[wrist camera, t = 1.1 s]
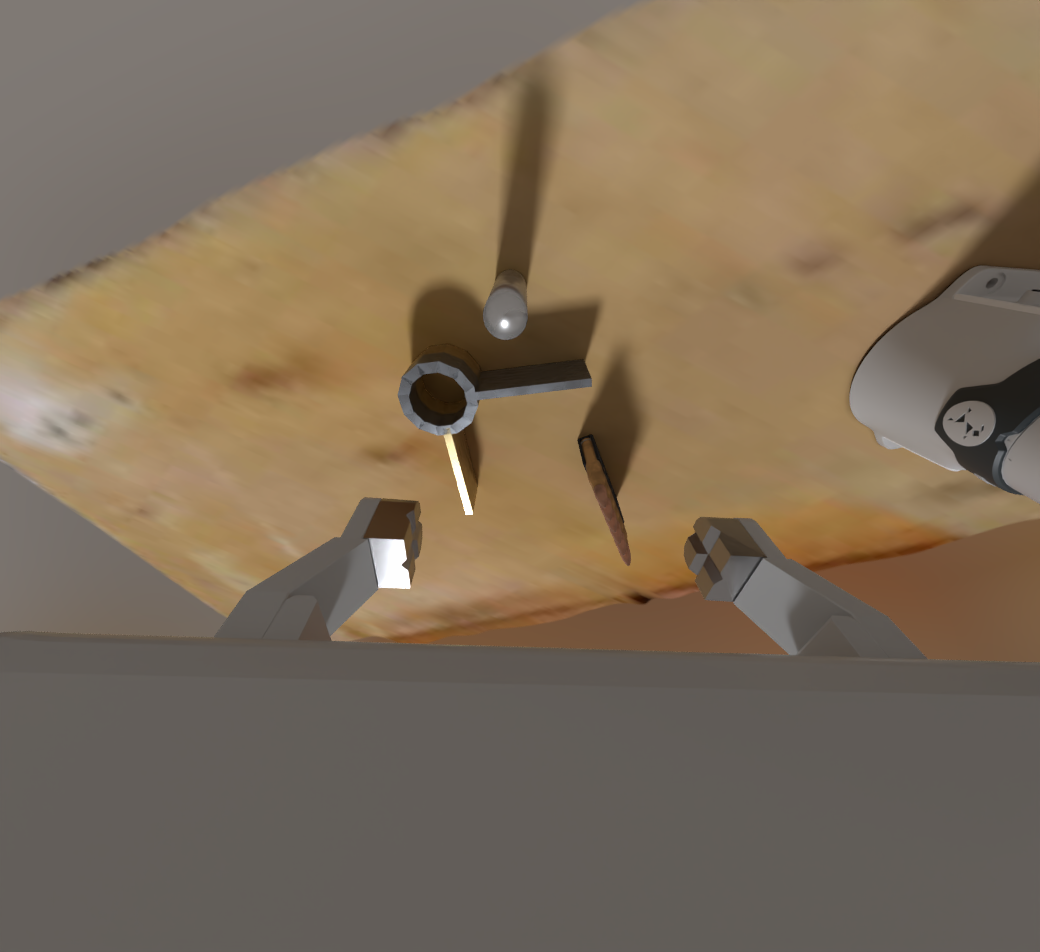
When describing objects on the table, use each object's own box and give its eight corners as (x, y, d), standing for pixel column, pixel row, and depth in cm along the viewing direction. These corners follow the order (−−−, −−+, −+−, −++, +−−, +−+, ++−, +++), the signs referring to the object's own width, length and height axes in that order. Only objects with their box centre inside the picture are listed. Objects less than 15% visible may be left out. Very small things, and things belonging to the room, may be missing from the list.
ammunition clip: (576, 439, 44) (591, 503, 34) (591, 433, 44) (611, 497, 34) (603, 502, 50) (622, 573, 40) (616, 498, 49) (639, 568, 39)
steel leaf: (582, 325, 37) (590, 341, 32) (584, 395, 41) (592, 418, 36) (404, 349, 38) (388, 367, 34) (424, 414, 42) (412, 438, 38)
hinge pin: (524, 267, 34) (524, 289, 24) (528, 302, 35) (529, 336, 26) (492, 271, 34) (479, 295, 24) (497, 306, 36) (487, 342, 26)
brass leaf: (474, 340, 37) (467, 357, 33) (502, 483, 48) (500, 511, 43) (404, 349, 38) (388, 367, 34) (447, 489, 49) (439, 517, 44)
